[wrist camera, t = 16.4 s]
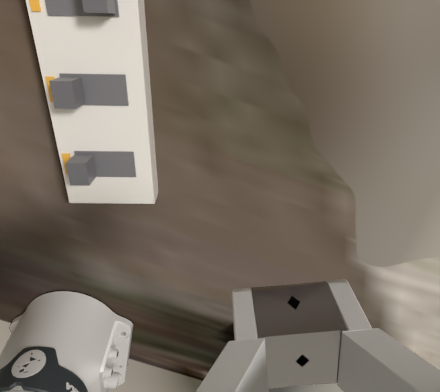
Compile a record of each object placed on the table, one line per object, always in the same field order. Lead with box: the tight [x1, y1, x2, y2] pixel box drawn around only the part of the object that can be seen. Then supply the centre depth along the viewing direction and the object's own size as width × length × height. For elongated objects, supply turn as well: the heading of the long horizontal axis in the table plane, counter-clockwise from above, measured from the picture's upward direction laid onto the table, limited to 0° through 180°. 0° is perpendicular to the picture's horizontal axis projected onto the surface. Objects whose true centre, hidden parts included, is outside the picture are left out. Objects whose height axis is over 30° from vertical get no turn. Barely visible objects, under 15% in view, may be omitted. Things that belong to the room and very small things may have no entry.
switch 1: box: [66, 155, 97, 186], centre depth 36 cm, size 2×2×2 cm
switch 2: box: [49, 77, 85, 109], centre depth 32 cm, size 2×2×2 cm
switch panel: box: [26, 0, 158, 204], centre depth 35 cm, size 26×10×3 cm, turn 179°
